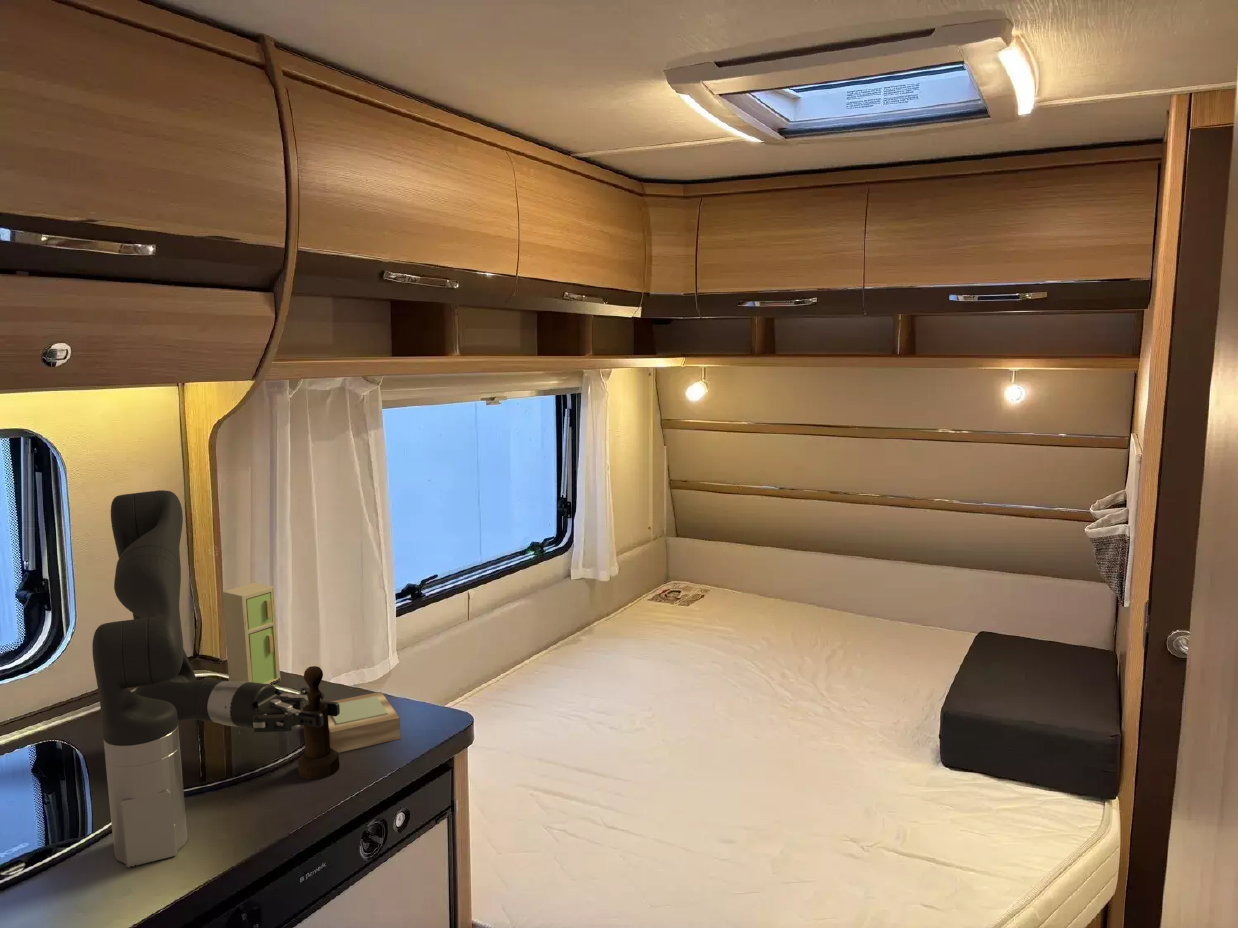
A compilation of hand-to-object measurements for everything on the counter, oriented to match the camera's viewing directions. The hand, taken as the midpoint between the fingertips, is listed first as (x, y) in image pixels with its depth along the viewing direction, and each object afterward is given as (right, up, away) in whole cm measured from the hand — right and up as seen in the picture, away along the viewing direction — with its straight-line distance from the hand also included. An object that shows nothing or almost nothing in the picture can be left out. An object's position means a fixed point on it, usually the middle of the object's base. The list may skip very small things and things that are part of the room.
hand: (330, 714), depth 145 cm
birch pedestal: (0, -8, +17) cm, 19 cm away
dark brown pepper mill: (-3, -10, +2) cm, 11 cm away
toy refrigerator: (-29, -5, +40) cm, 50 cm away
